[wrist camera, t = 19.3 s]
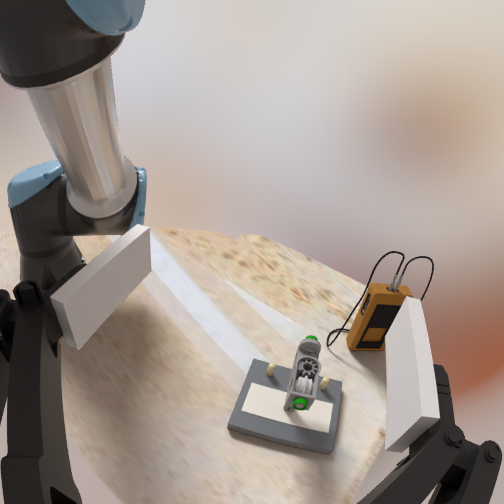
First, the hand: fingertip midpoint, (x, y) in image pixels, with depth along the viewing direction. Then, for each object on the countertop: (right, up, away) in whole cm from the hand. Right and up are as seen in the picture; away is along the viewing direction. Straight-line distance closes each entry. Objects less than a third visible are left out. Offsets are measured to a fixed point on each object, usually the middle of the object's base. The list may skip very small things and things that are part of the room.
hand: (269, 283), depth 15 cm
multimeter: (+19, -13, +41) cm, 47 cm away
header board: (+4, -20, +26) cm, 33 cm away
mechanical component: (+4, -20, +24) cm, 31 cm away
